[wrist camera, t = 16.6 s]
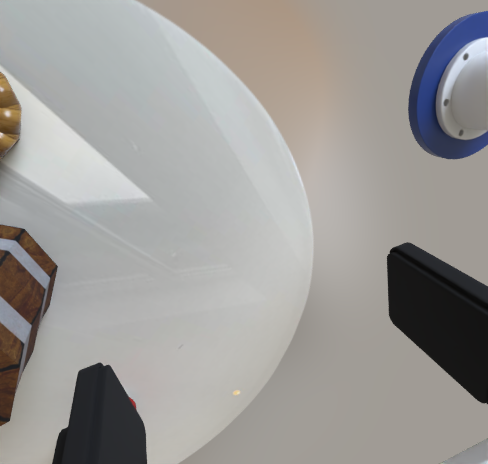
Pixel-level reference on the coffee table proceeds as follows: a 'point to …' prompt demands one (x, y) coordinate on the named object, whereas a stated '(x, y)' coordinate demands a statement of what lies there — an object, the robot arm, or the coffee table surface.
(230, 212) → the coffee table surface
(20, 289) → the mug
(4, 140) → the ring
